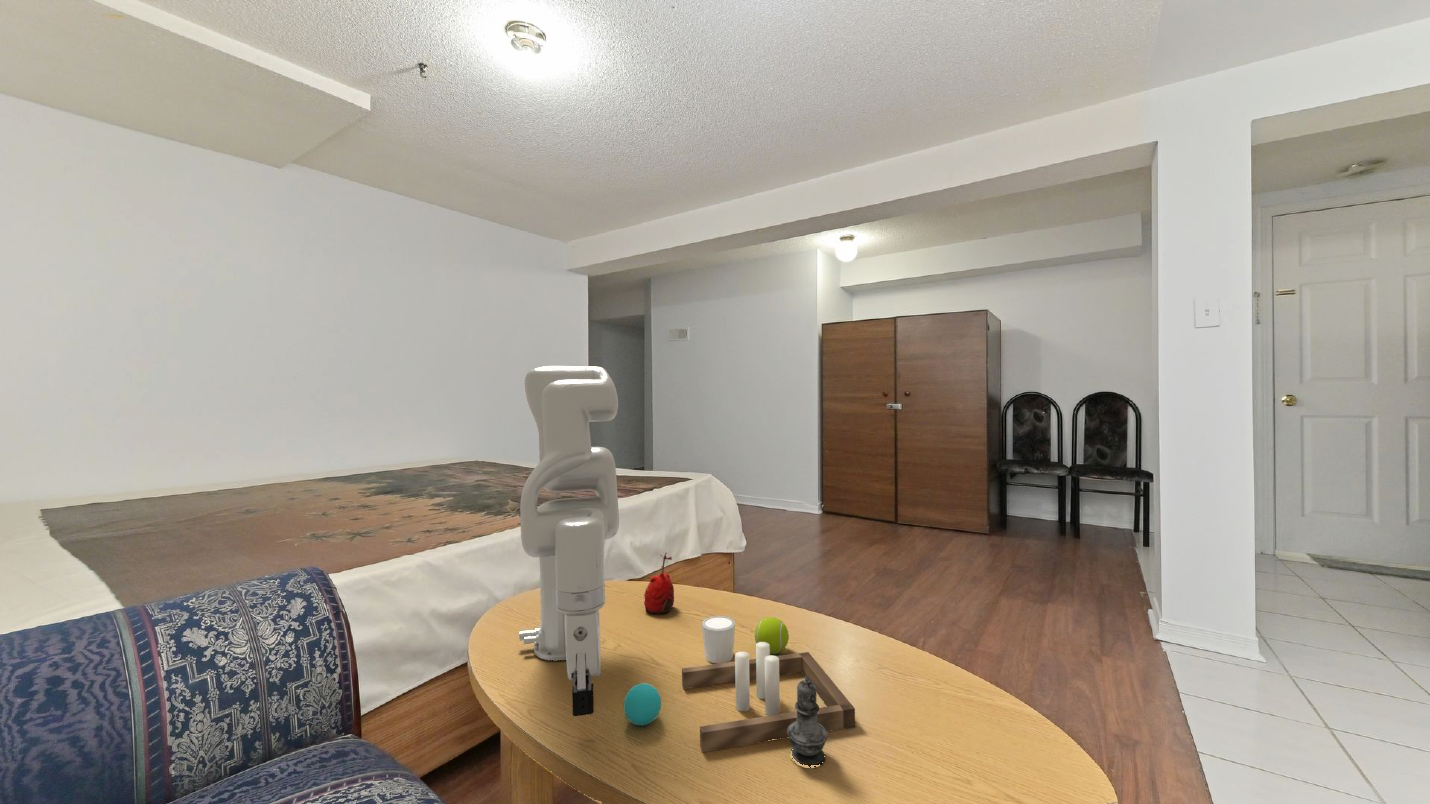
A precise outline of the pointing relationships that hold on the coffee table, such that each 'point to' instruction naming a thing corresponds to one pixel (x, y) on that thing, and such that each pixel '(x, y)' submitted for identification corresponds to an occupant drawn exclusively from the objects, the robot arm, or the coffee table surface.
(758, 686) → the pin
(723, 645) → the white cup
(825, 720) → the bumper lane
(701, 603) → the coffee table surface
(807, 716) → the dark gray figurine
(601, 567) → the robot arm
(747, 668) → the pin front
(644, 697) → the ball
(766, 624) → the tennis ball
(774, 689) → the pin
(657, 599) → the red rounded lumpy piece
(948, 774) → the coffee table surface
